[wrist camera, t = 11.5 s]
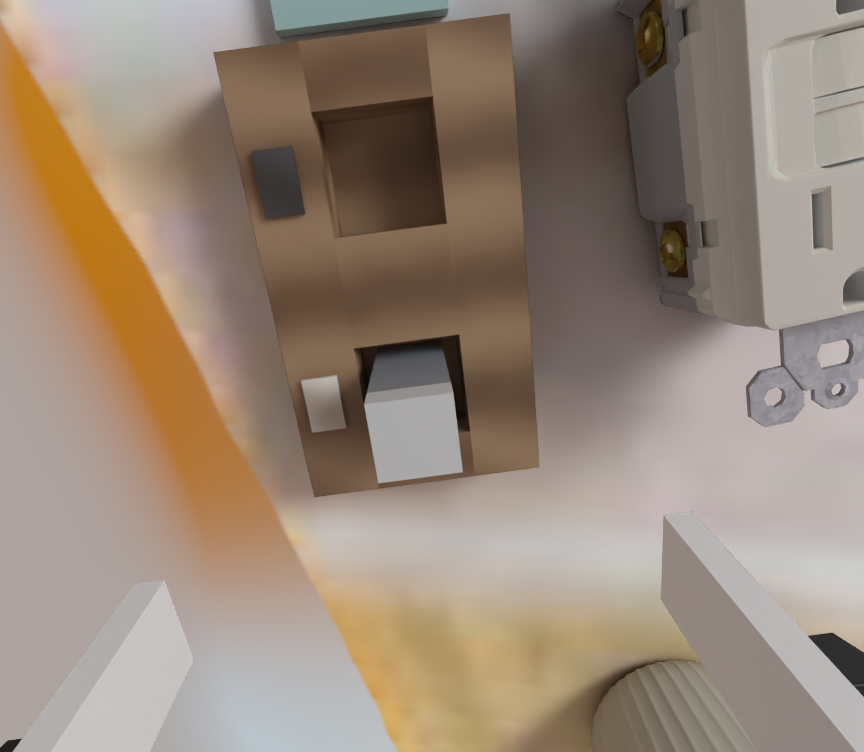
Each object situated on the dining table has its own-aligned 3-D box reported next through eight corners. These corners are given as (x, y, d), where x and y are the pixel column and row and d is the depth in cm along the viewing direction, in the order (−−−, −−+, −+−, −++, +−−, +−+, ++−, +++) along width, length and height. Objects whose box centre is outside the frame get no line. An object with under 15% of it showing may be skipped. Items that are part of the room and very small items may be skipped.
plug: (377, 347, 32) (363, 404, 22) (440, 339, 32) (453, 392, 22) (387, 405, 33) (378, 483, 23) (447, 398, 33) (462, 472, 23)
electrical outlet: (647, 391, 33) (740, 449, 24) (583, -115, 26) (679, -326, 17) (822, 352, 33) (990, 394, 23) (805, -172, 26) (1034, -421, 16)
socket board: (240, 75, 27) (210, 50, 23) (495, 41, 27) (510, 10, 23) (324, 466, 35) (313, 499, 31) (525, 439, 35) (540, 469, 31)
